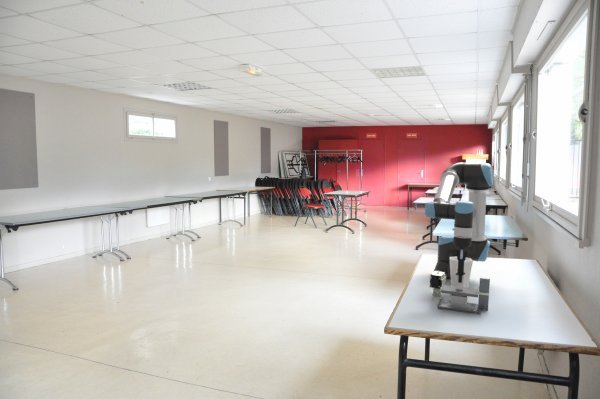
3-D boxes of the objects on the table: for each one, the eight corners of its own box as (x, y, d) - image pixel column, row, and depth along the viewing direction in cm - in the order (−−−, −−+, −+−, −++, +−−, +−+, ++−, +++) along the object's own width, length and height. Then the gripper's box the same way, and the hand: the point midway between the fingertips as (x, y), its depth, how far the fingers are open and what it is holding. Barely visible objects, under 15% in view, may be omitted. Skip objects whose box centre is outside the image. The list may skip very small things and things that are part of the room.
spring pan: (487, 303, 189) (488, 290, 189) (488, 310, 181) (489, 296, 180) (441, 297, 196) (442, 284, 196) (440, 303, 188) (441, 290, 187)
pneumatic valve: (428, 297, 202) (429, 272, 201) (435, 291, 212) (436, 267, 211) (440, 299, 200) (441, 274, 198) (446, 293, 209) (447, 269, 208)
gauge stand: (487, 307, 190) (489, 276, 189) (488, 315, 180) (490, 283, 179) (439, 301, 198) (440, 271, 196) (437, 308, 188) (439, 277, 186)
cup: (472, 297, 204) (474, 262, 203) (449, 295, 206) (451, 260, 205) (467, 290, 215) (469, 257, 214) (446, 288, 217) (448, 255, 216)
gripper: (454, 233, 194) (451, 284, 196) (453, 238, 182) (450, 292, 184) (471, 235, 191) (468, 286, 193) (471, 239, 179) (468, 294, 181)
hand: (459, 289), depth 189 cm, fingers closed
